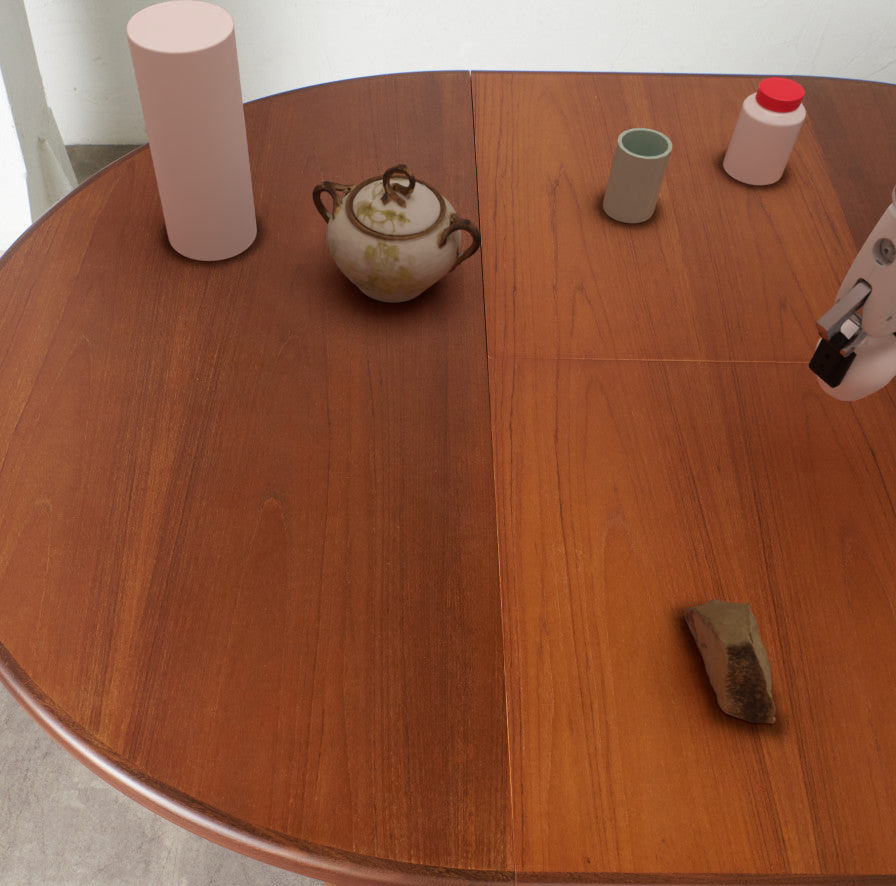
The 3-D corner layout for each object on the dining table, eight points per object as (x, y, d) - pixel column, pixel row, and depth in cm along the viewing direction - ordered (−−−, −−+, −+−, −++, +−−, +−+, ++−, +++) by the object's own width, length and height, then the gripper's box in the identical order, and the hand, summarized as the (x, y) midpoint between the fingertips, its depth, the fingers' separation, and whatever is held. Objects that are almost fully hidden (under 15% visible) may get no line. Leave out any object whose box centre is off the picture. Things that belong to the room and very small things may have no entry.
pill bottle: (773, 192, 121) (805, 112, 112) (714, 174, 123) (741, 94, 114) (789, 162, 125) (821, 83, 116) (732, 145, 127) (760, 65, 118)
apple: (816, 416, 84) (852, 351, 77) (791, 359, 88) (824, 293, 82) (892, 413, 84) (935, 348, 78) (865, 356, 88) (903, 290, 82)
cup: (632, 187, 121) (649, 122, 114) (664, 214, 118) (683, 149, 111) (592, 201, 119) (606, 136, 112) (623, 229, 116) (640, 164, 109)
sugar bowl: (493, 263, 112) (509, 149, 100) (451, 344, 103) (463, 230, 91) (341, 222, 116) (338, 108, 104) (289, 297, 107) (279, 182, 95)
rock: (658, 583, 82) (651, 674, 76) (743, 544, 77) (744, 639, 70) (734, 650, 86) (734, 743, 79) (821, 617, 80) (829, 715, 73)
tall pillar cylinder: (152, 248, 112) (105, 39, 92) (194, 198, 118) (158, -9, 98) (232, 270, 110) (203, 60, 90) (271, 218, 116) (251, 10, 96)
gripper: (909, 255, 65) (813, 425, 79) (1074, 181, 70) (956, 353, 84) (829, 197, 69) (752, 369, 83) (992, 130, 74) (892, 303, 88)
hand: (855, 360), depth 84 cm, fingers closed on apple, 7 cm apart
